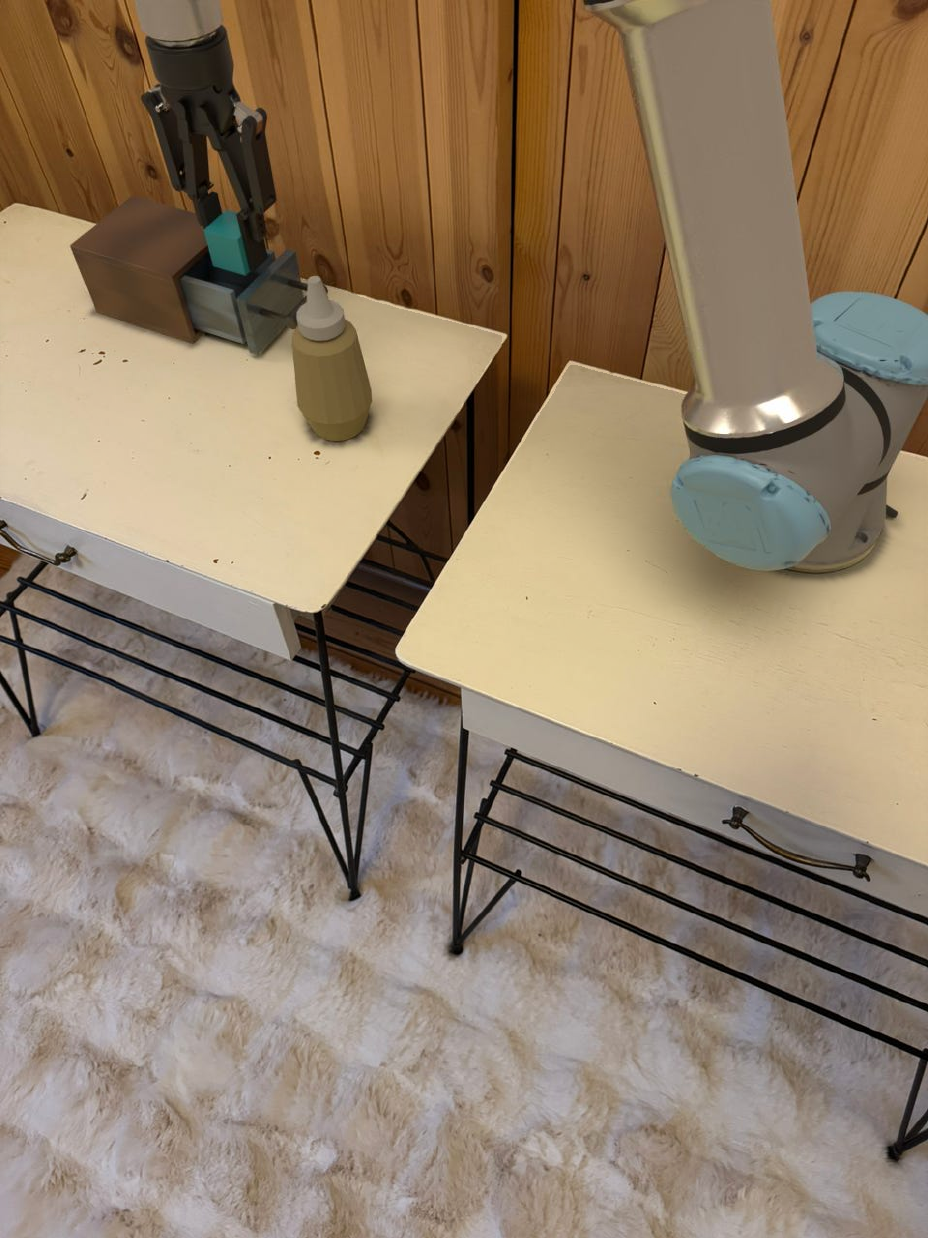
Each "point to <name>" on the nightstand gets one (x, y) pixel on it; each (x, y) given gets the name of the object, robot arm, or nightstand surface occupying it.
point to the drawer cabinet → (142, 265)
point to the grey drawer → (245, 299)
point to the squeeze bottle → (329, 368)
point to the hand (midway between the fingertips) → (239, 257)
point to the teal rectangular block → (227, 244)
